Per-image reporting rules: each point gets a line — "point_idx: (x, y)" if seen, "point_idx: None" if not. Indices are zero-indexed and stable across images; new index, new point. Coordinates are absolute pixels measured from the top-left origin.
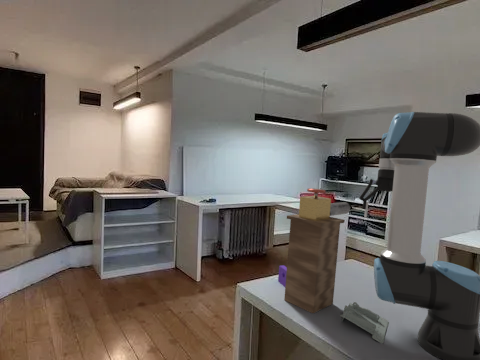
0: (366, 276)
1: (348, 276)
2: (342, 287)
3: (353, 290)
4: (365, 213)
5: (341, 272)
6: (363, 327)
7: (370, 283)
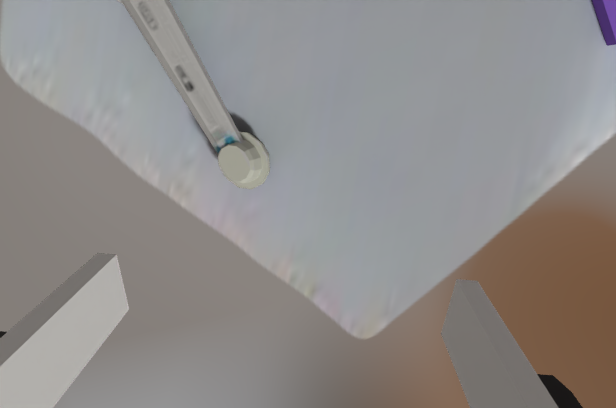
0: (336, 189)
1: (407, 160)
2: (457, 18)
3: (417, 2)
4: (495, 310)
5: (426, 194)
6: None
7: (334, 116)
